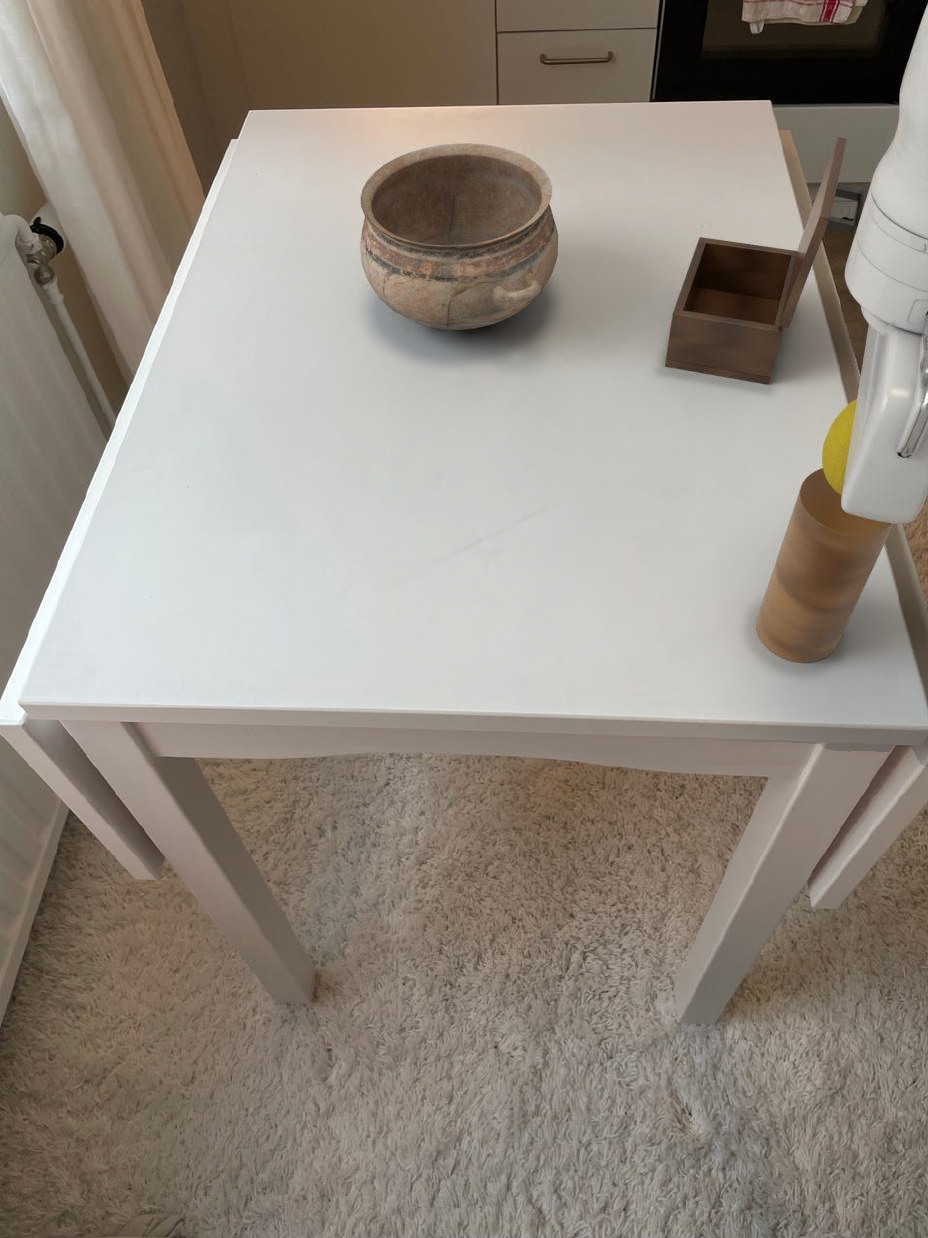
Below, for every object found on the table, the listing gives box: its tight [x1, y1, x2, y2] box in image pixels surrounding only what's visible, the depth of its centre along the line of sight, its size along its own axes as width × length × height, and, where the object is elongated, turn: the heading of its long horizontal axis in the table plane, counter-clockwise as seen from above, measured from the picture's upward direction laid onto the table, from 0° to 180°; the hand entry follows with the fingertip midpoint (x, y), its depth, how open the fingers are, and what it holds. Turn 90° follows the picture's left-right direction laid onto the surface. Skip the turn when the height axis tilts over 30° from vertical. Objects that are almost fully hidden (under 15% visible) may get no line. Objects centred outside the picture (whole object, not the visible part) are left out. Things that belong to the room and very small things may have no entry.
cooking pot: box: [359, 143, 559, 331], centre depth 92 cm, size 25×19×12 cm
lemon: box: [821, 398, 857, 496], centre depth 56 cm, size 6×6×8 cm
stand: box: [755, 467, 894, 664], centre depth 65 cm, size 6×6×14 cm
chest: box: [664, 236, 798, 385], centre depth 90 cm, size 10×13×6 cm
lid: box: [779, 136, 871, 329], centre depth 81 cm, size 10×13×5 cm
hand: (865, 461), depth 57 cm, fingers closed on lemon, 5 cm apart
